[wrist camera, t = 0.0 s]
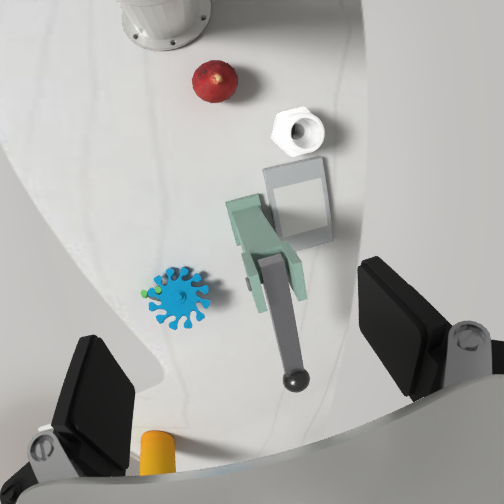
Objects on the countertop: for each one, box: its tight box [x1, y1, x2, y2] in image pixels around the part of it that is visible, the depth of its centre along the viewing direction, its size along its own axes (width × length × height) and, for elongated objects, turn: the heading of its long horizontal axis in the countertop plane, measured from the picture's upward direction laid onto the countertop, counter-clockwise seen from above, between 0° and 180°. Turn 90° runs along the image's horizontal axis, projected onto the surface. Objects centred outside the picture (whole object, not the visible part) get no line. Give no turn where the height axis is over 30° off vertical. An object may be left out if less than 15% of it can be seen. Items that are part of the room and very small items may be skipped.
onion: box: [192, 60, 238, 103], centre depth 35 cm, size 6×6×8 cm
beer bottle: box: [140, 431, 176, 476], centre depth 56 cm, size 9×9×29 cm
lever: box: [257, 254, 310, 392], centre depth 35 cm, size 20×4×4 cm, turn 13°
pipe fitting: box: [271, 107, 325, 157], centre depth 39 cm, size 6×7×8 cm
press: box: [225, 156, 333, 313], centre depth 39 cm, size 14×16×20 cm
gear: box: [141, 267, 210, 330], centre depth 49 cm, size 11×6×10 cm
